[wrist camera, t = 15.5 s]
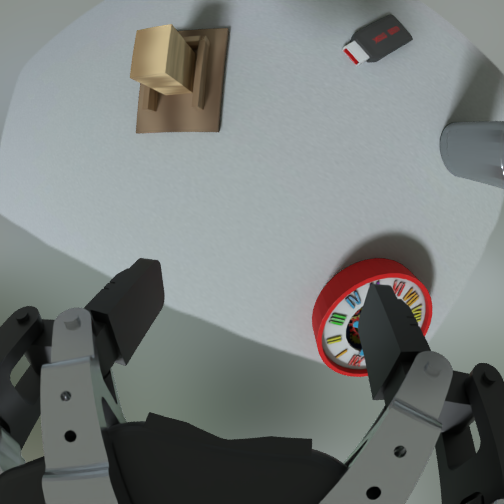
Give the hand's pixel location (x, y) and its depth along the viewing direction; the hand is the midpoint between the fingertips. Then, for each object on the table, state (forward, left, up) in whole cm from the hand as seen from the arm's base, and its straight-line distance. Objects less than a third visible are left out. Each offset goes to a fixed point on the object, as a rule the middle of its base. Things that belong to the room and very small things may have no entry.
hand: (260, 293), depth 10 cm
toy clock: (-20, +18, -29) cm, 40 cm away
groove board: (+13, -16, -29) cm, 35 cm away
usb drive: (-15, -25, -30) cm, 42 cm away
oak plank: (+13, -16, -28) cm, 35 cm away
